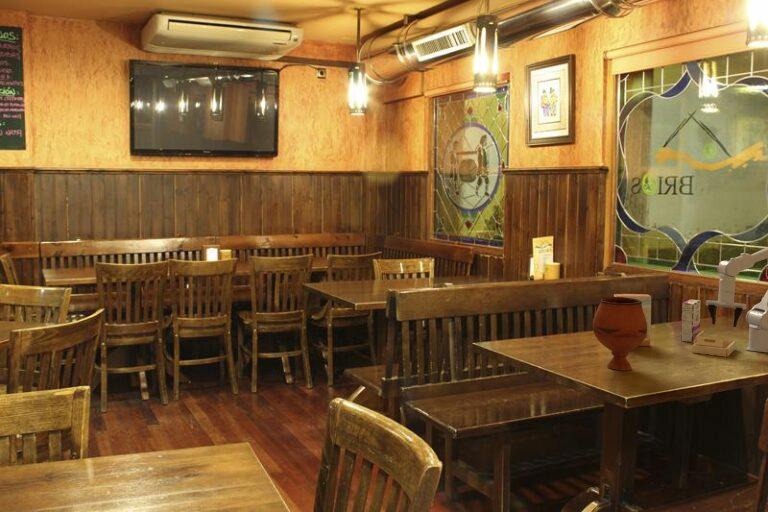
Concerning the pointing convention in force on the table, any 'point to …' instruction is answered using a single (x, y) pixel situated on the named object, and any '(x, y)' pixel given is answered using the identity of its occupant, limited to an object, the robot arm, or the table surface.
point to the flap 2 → (709, 341)
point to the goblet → (620, 328)
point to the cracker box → (646, 309)
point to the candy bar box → (690, 320)
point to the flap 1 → (698, 335)
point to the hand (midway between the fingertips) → (724, 325)
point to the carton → (715, 349)
